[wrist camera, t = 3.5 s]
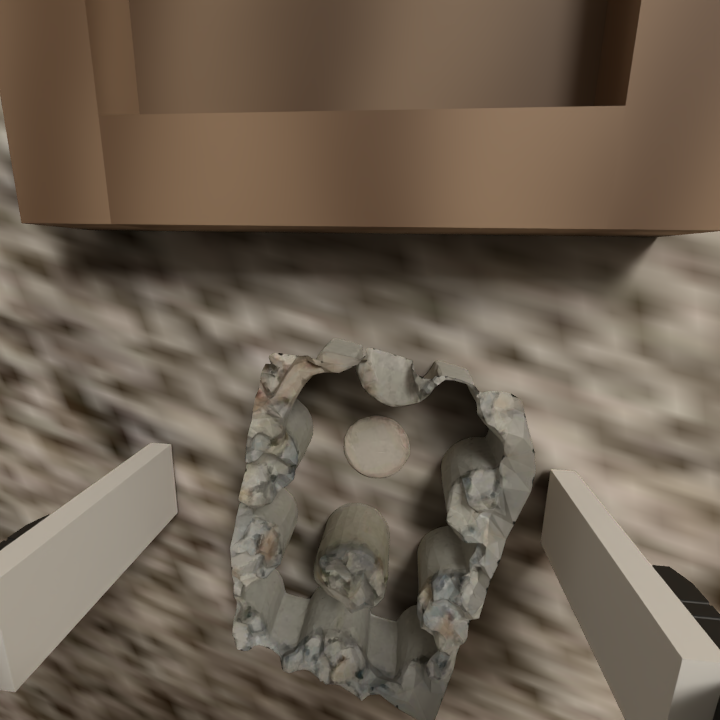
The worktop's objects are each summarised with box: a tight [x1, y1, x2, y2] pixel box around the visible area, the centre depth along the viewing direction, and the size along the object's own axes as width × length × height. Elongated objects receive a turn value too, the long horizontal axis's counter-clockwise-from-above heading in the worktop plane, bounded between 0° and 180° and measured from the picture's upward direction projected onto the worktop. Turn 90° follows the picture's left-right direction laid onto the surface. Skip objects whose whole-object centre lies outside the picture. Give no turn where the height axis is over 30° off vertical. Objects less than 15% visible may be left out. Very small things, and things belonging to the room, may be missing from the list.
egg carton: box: [230, 338, 536, 720], centre depth 13 cm, size 11×8×4 cm
